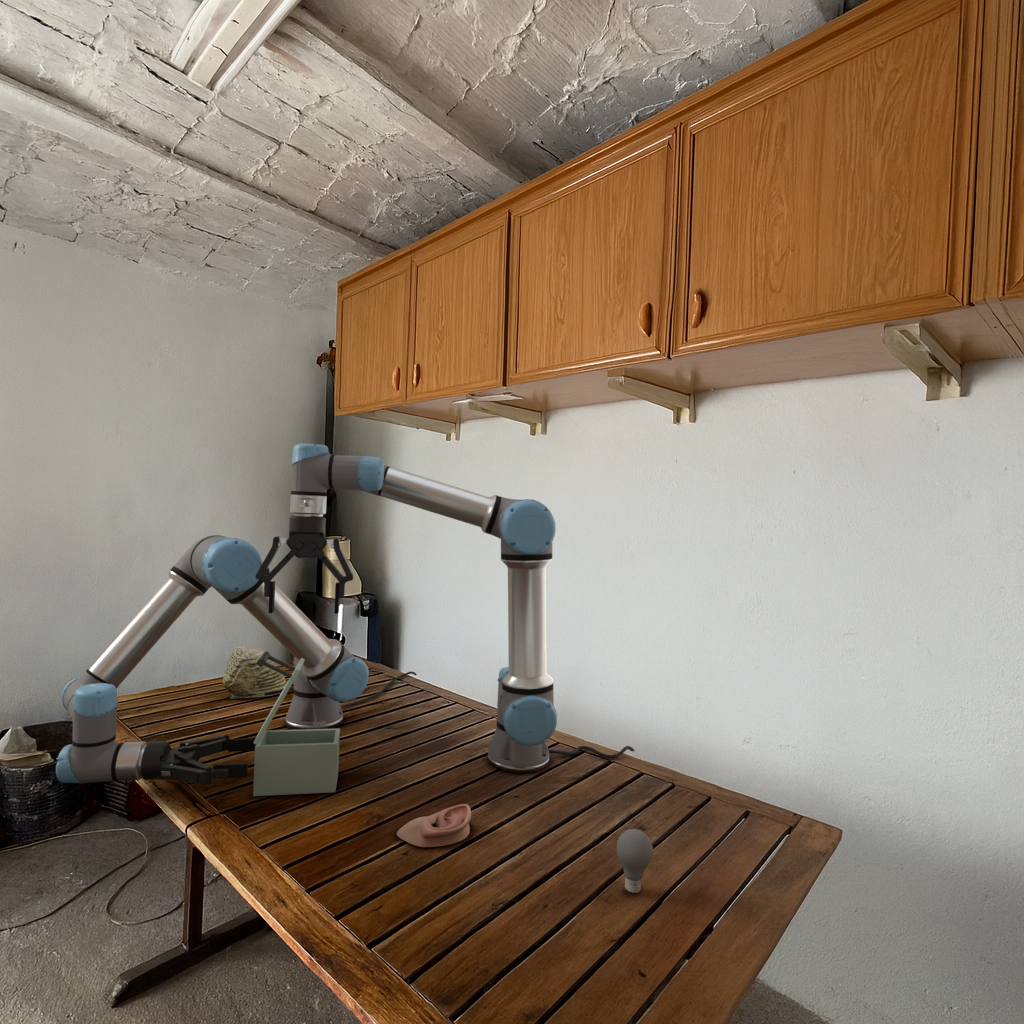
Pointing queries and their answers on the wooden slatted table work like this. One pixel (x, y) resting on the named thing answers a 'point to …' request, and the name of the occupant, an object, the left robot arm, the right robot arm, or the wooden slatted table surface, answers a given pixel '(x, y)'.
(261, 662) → the lid
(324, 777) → the chest
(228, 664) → the fossil
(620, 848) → the light bulb
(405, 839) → the anatomical model
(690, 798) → the wooden slatted table surface
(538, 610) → the right robot arm
